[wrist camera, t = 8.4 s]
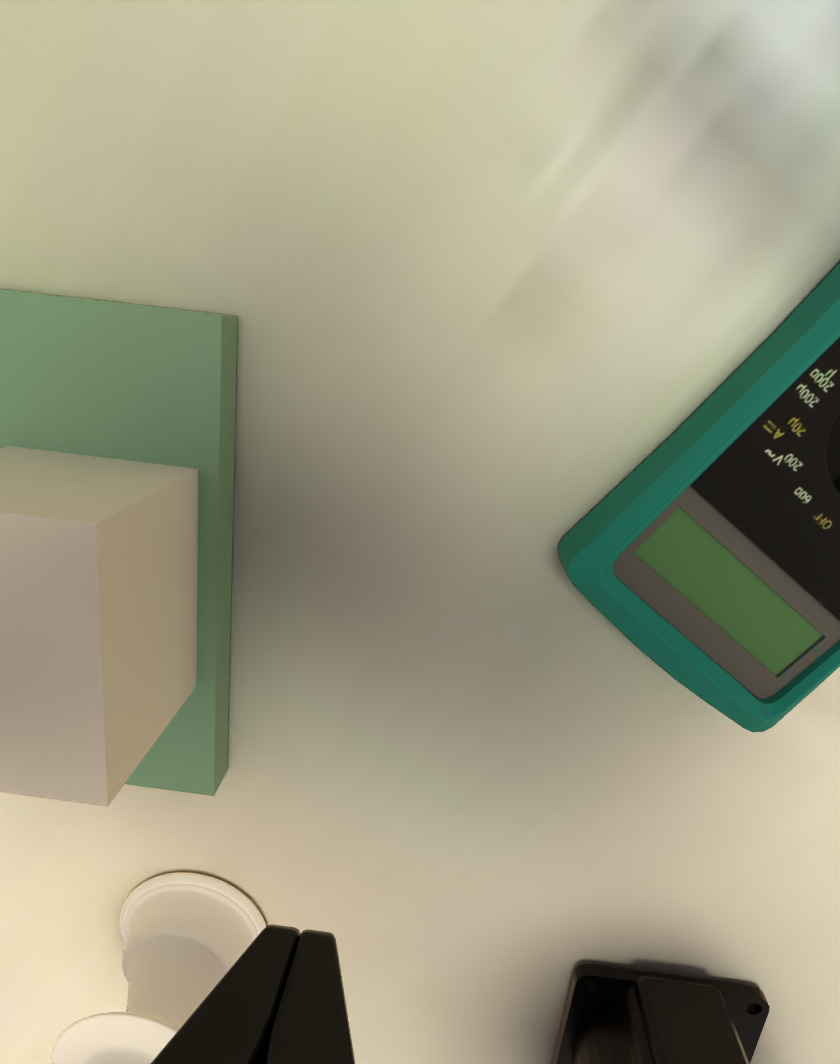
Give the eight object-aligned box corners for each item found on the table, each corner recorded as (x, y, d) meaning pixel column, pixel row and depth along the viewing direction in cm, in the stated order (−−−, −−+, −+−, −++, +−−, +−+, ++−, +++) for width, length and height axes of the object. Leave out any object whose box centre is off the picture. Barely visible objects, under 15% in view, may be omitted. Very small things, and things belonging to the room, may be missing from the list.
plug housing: (196, 685, 19) (107, 806, 14) (26, 663, 19) (-118, 775, 14) (198, 468, 17) (96, 523, 12) (9, 445, 17) (-165, 491, 12)
